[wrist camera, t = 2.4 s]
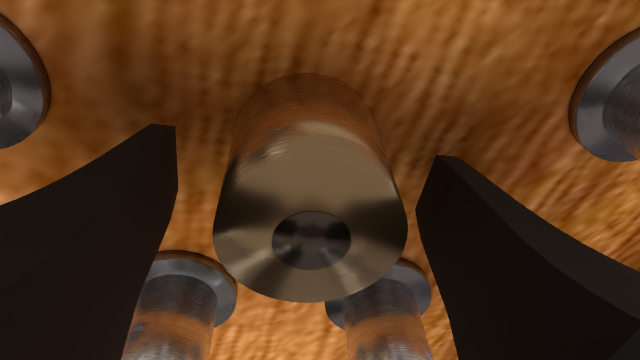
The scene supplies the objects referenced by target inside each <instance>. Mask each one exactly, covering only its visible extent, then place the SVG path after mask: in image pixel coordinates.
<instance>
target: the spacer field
mask: <svg viewBox="0 0 640 360" xmlns="http://www.w3.org/2000/svg"><path fill="white" fill-rule="evenodd" d="M49 103H50V88H49V81H48V78H47V75H46V71H45V69H44V67H43V64H42V62H41V60H40V58H39V57H38V55H37V53H36V52H35V50H34V49H33V47H32V46H31V45H30V43H29V42H28V40H27V39H26V38H25V37H24V36H23V35H22V34H21V32H20V31H19V30H18V29H17V28H16V27H15V26H14V25H13V24H12V23H10V22H9V21H8V20H7V19H6V18H5V17H3V16H2V15H1V14H0V149H3V148H7V147H10V146H13V145H15V144H17V143H19V142H21V141H22V140H24V139H25V138H26V137H28V136H29V135H30V134H31V133H32V132H33V131H34V130H35V129H36V128H37V127H38V126H39V125H40V124H41V122H42V121H43V119H44V118H45V116H46V114H47V111H48V108H49ZM569 122H570V127H571V131H572V133H573V135H574V137H575V138H576V139H577V140H578V142H579V143H580V144H581V145H583V146H584V147H585V148H586V149H587V150H588V151H589V152H591V153H592V154H593V155H595V156H597V157H599V158H601V159H604V160H609V161H617V162H625V161H634V160H639V161H640V28H639V29H637V30H635V31H633V32H631V33H629V34H628V35H626V36H624V37H623V38H621V39H620V40H618V41H617V42H616V43H614V44H613V45H612V46H610V47H609V48H608V49H607V50H606V51H605V52H604V53H602V54H601V55H600V56H599V57H598V58H597V59H596V61H595V62H594V63H593V64H592V65H591V66H590V67H589V69H588V70H587V71H586V73H585V74H584V76H583V77H582V79H581V80H580V82H579V84H578V86H577V88H576V90H575V92H574V95H573V98H572V100H571V105H570V110H569ZM236 297H237V286H236V283H235V281H234V279H233V277H232V276H231V275H230V273H229V272H228V271H227V270H226V269H225V268H224V267H223V266H221V265H220V264H218V263H217V262H215V261H213V260H211V259H209V258H207V257H204V256H202V255H198V254H194V253H190V252H182V251H166V252H159V253H157V254H156V256H155V259H154V261H153V264H152V266H151V268H150V271H149V273H148V276H147V278H146V281H145V283H144V285H143V288H142V291H141V293H140V296H139V299H138V302H137V305H136V308H135V312H134V315H133V319H132V322H131V326H130V329H129V332H128V336H127V339H126V343H125V347H124V351H123V354H122V358H121V360H208V358H209V352H210V346H211V341H212V335H213V329H214V327H217V326H219V325H220V324H222V323H224V322H225V321H226V320H227V319H228V318H229V317H230V316H231V315H232V313H233V311H234V309H235V305H236ZM430 301H431V289H430V286H429V283H428V280H427V278H426V275H425V274H424V272H423V271H422V270H421V269H420V268H419V267H418V266H416V265H415V264H413V263H411V262H409V261H406V260H404V259H400V258H399V259H398V260H397V262H396V263H395V265H394V266H393V267H392V268H391V269H390V270H389V271H388V272H387V273H386V274H385V275H384V276H383V277H382V278H381V279H379V280H378V281H376V282H375V283H373V284H372V285H370V286H368V287H367V288H365V289H363V290H361V291H359V292H356V293H354V294H351V295H348V296H345V297H342V298H338V299H334V300H329V301H325V308H326V313H327V315H328V317H329V318H330V320H331V321H332V322H333V323H334V324H336V325H337V326H338V327H340V328H342V329H344V330H345V333H346V342H347V350H348V358H349V360H433V357H432V354H431V350H430V347H429V344H428V340H427V337H426V334H425V330H424V327H423V323H422V320H421V317H420V316H421V315H422V314H423V313H424V312H425V311H426V310H427V308H428V306H429V304H430Z"/></svg>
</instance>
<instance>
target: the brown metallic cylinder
mask: <svg viewBox="0 0 640 360" xmlns="http://www.w3.org/2000/svg"><path fill="white" fill-rule="evenodd" d="M407 233H408V224H407V217H406V213H405V210H404V207H403V204H402V201H401V198H400V195H399V192H398V189H397V186H396V183H395V181H394V178H393V175H392V172H391V169H390V166H389V163H388V160H387V157H386V154H385V151H384V148H383V145H382V143H381V140H380V137H379V134H378V131H377V128H376V125H375V122H374V119H373V116H372V114H371V112H370V109H369V107H368V106H367V104H366V103H365V101H364V100H363V99H362V97H361V96H360V95H359V94H358V93H357V92H356V91H354V90H353V89H352V88H351V87H349V86H348V85H346V84H345V83H343V82H341V81H339V80H337V79H334V78H331V77H328V76H325V75H320V74H311V73H302V74H293V75H287V76H284V77H281V78H277V79H275V80H273V81H271V82H269V83H267V84H265V85H264V86H262V87H261V88H259V89H258V90H257V91H256V92H255V93H254V94H252V96H251V97H250V98H249V99H248V100H247V101H246V103H245V104H244V106H243V107H242V109H241V111H240V114H239V116H238V119H237V123H236V126H235V131H234V135H233V140H232V144H231V149H230V153H229V158H228V162H227V166H226V171H225V175H224V180H223V184H222V189H221V193H220V197H219V202H218V206H217V211H216V215H215V220H214V225H213V243H214V247H215V251H216V253H217V256H218V258H219V260H220V262H221V263H222V265H223V266H224V268H225V269H226V270H227V271H228V272H229V273H230V275H231V276H233V277H234V278H235V279H236V280H237V281H238V282H240V283H241V284H243V285H244V286H246V287H247V288H249V289H251V290H253V291H255V292H257V293H260V294H262V295H265V296H268V297H271V298H275V299H279V300H284V301H291V302H322V301H329V300H334V299H338V298H342V297H345V296H348V295H351V294H354V293H356V292H359V291H361V290H363V289H365V288H367V287H368V286H370V285H372V284H373V283H375V282H376V281H378V280H379V279H381V278H382V277H383V276H384V275H385V274H386V273H387V272H388V271H389V270H390V269H391V268H392V267H393V266H394V265H395V263H396V262H397V260H398V259H399V257H400V255H401V253H402V251H403V249H404V246H405V243H406V240H407Z"/></svg>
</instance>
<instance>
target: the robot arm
mask: <svg viewBox="0 0 640 360" xmlns="http://www.w3.org/2000/svg"><path fill="white" fill-rule="evenodd" d="M177 192H178V174H177V153H176V132H175V126H167V125H158V124H150V125H148V126H146V127H145V128H143V129H142V130H140V131H139V132H137V133H136V134H134V135H133V136H131V137H130V138H128V139H127V140H125V141H124V142H122V143H120V144H119V145H117V146H116V147H114V148H113V149H111V150H110V151H108V152H107V153H105V154H103V155H102V156H100V157H99V158H97V159H95V160H93V161H92V162H90V163H88V164H86V165H85V166H83V167H81V168H79V169H78V170H76V171H74V172H72V173H71V174H69V175H67V176H65V177H63V178H61V179H59V180H58V181H56V182H53V183H51V184H49V185H47V186H45V187H43V188H41V189H39V190H36V191H34V192H32V193H30V194H28V195H25V196H23V197H21V198H18V199H16V200H13V201H11V202H8V203H5V204H3V205H0V360H121V358H122V354H123V351H124V347H125V343H126V339H127V336H128V332H129V329H130V326H131V322H132V319H133V315H134V312H135V308H136V305H137V302H138V299H139V296H140V293H141V291H142V288H143V285H144V283H145V281H146V278H147V276H148V273H149V271H150V268H151V266H152V264H153V261H154V259H155V256H156V254H157V252H158V249H159V247H160V244H161V242H162V239H163V237H164V234H165V232H166V229H167V227H168V224H169V222H170V219H171V215H172V212H173V208H174V204H175V200H176V196H177ZM415 212H416V217H417V223H418V228H419V233H420V237H421V241H422V244H423V247H424V250H425V253H426V255H427V258H428V261H429V264H430V267H431V269H432V272H433V275H434V277H435V280H436V283H437V286H438V288H439V291H440V294H441V297H442V299H443V302H444V305H445V308H446V311H447V314H448V318H449V321H450V325H451V329H452V334H453V338H454V342H455V346H456V350H457V355H458V359H459V360H640V272H638V271H636V270H634V269H632V268H629V267H627V266H625V265H623V264H621V263H619V262H617V261H615V260H613V259H611V258H609V257H607V256H605V255H603V254H601V253H599V252H598V251H596V250H594V249H592V248H590V247H588V246H586V245H585V244H583V243H581V242H579V241H578V240H576V239H574V238H573V237H571V236H569V235H568V234H566V233H564V232H562V231H561V230H559V229H557V228H556V227H554V226H553V225H551V224H550V223H548V222H547V221H545V220H544V219H542V218H541V217H539V216H538V215H536V214H535V213H533V212H532V211H530V210H529V209H527V208H526V207H525V206H523V205H522V204H520V203H519V202H518V201H516V200H515V199H514V198H512V197H511V196H510V195H508V194H507V193H506V192H504V191H503V190H502V189H500V188H499V187H498V186H496V185H495V184H494V183H492V182H491V181H490V180H488V179H487V178H486V177H485V176H483V175H482V174H481V173H479V172H478V171H477V170H475V169H474V168H472V167H471V166H470V165H468V164H467V163H465V162H464V161H462V160H461V159H459V158H457V157H453V156H444V155H436V156H435V159H434V161H433V164H432V167H431V169H430V172H429V175H428V177H427V180H426V182H425V185H424V188H423V190H422V193H421V196H420V198H419V201H418V203H417V206H416V209H415Z"/></svg>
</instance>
